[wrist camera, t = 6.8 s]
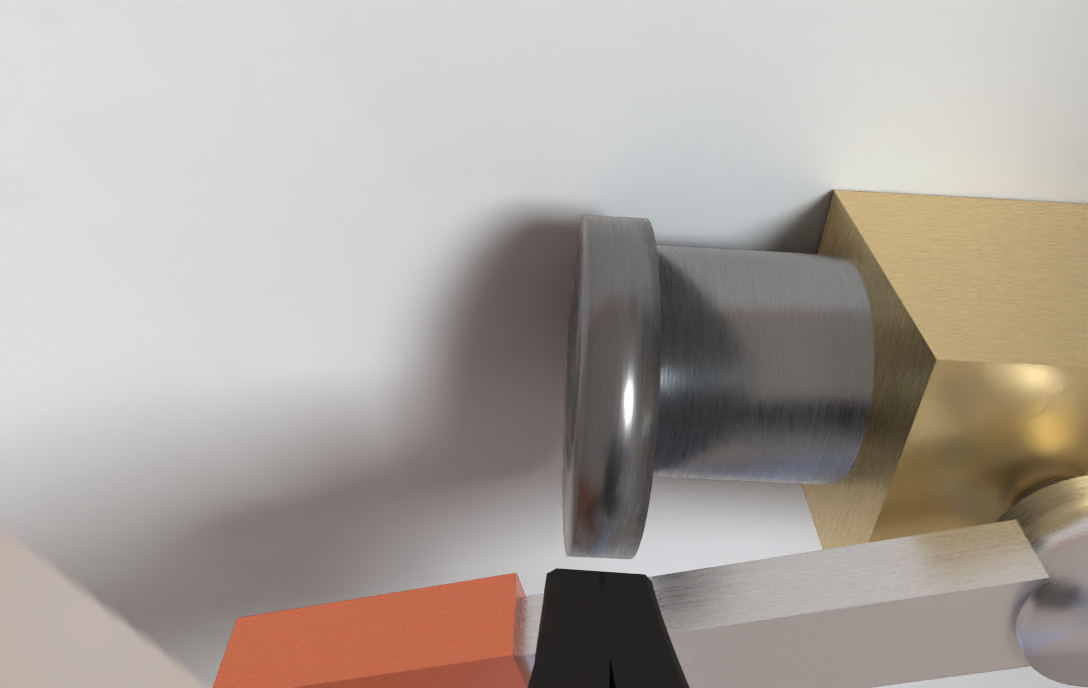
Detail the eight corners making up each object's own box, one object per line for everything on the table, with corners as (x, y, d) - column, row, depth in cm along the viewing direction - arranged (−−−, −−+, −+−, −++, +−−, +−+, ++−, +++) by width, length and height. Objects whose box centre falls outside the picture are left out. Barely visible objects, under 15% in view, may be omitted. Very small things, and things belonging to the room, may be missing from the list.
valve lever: (1190, 458, 12) (1260, 538, 11) (1162, 589, 13) (1221, 672, 12) (234, 613, 14) (204, 696, 12) (301, 712, 15) (280, 794, 14)
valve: (561, 410, 19) (564, 631, 14) (583, 159, 16) (595, 339, 11) (1214, 442, 19) (1423, 668, 15) (1365, 203, 16) (1693, 396, 11)
